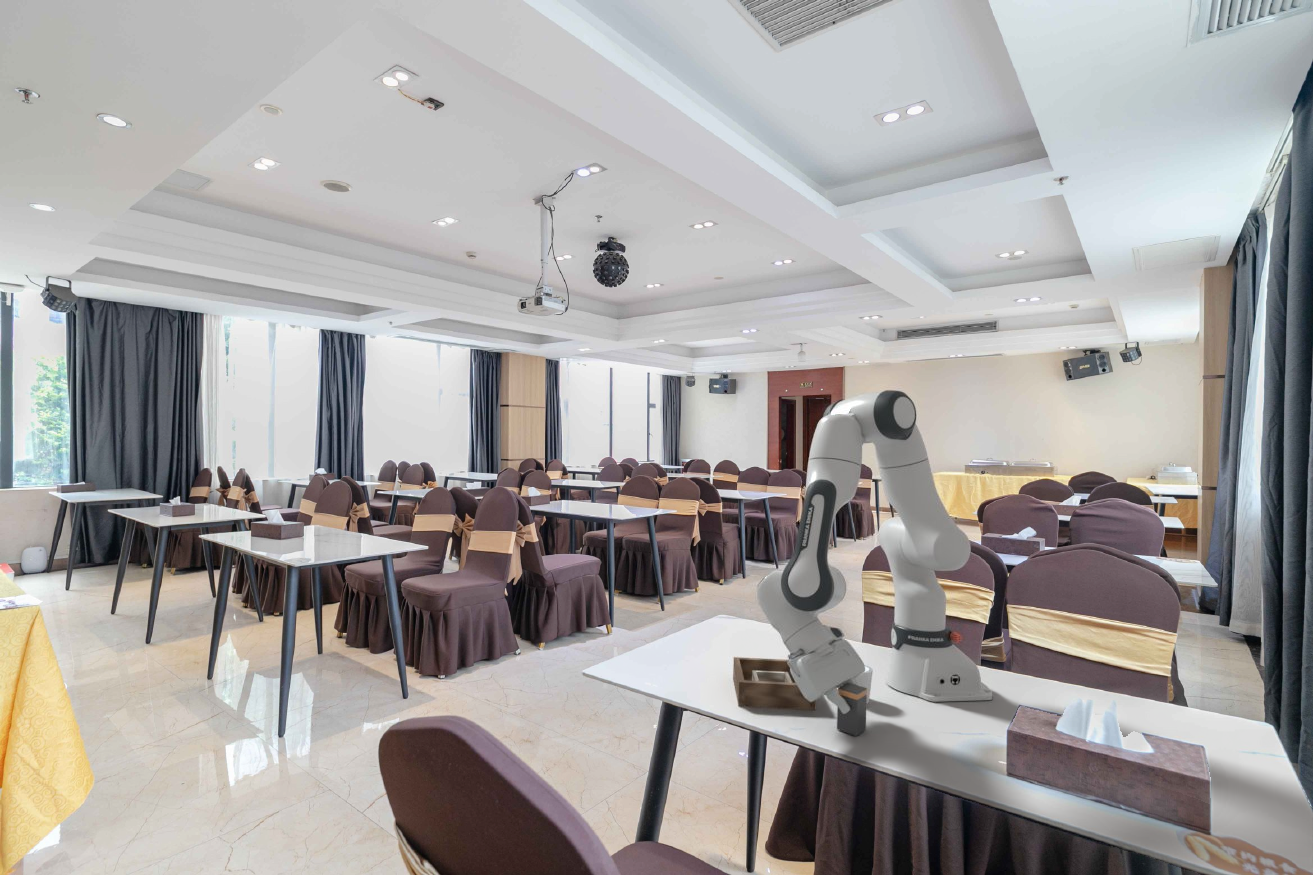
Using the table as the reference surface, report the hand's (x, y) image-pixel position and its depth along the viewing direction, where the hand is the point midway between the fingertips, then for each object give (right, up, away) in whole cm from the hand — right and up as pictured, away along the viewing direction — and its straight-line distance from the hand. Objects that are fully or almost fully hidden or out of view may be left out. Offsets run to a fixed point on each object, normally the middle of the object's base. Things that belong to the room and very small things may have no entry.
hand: (855, 707), depth 122 cm
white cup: (+5, -5, +16) cm, 18 cm away
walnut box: (-13, -5, +18) cm, 23 cm away
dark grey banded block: (-1, -4, 0) cm, 4 cm away
